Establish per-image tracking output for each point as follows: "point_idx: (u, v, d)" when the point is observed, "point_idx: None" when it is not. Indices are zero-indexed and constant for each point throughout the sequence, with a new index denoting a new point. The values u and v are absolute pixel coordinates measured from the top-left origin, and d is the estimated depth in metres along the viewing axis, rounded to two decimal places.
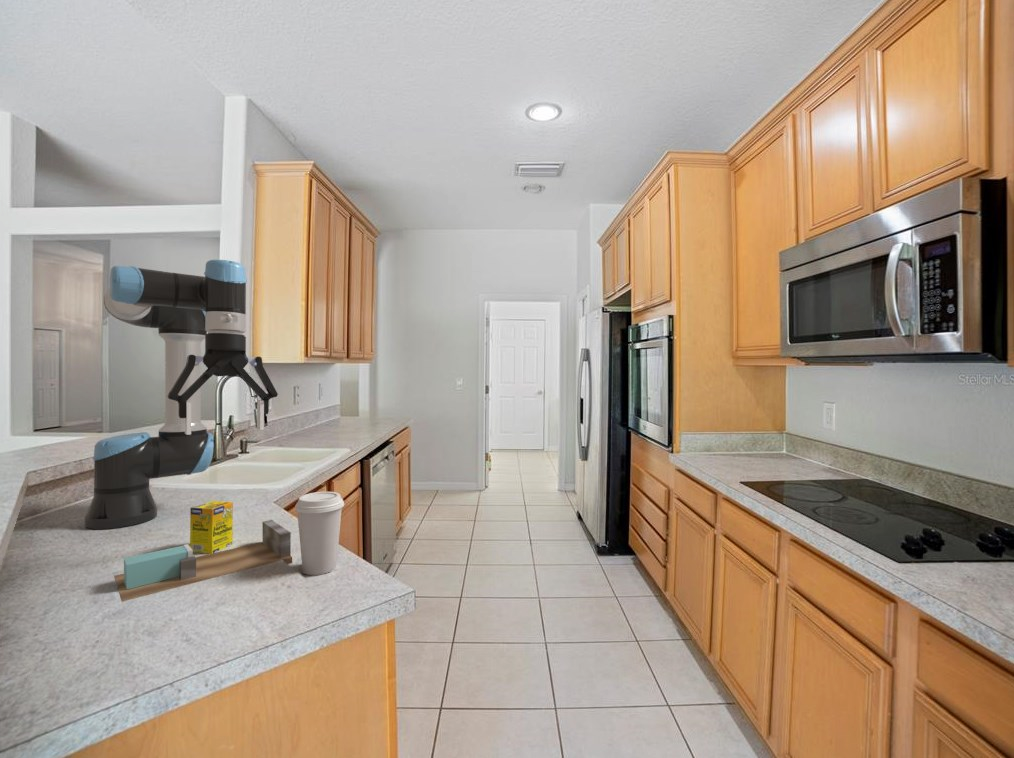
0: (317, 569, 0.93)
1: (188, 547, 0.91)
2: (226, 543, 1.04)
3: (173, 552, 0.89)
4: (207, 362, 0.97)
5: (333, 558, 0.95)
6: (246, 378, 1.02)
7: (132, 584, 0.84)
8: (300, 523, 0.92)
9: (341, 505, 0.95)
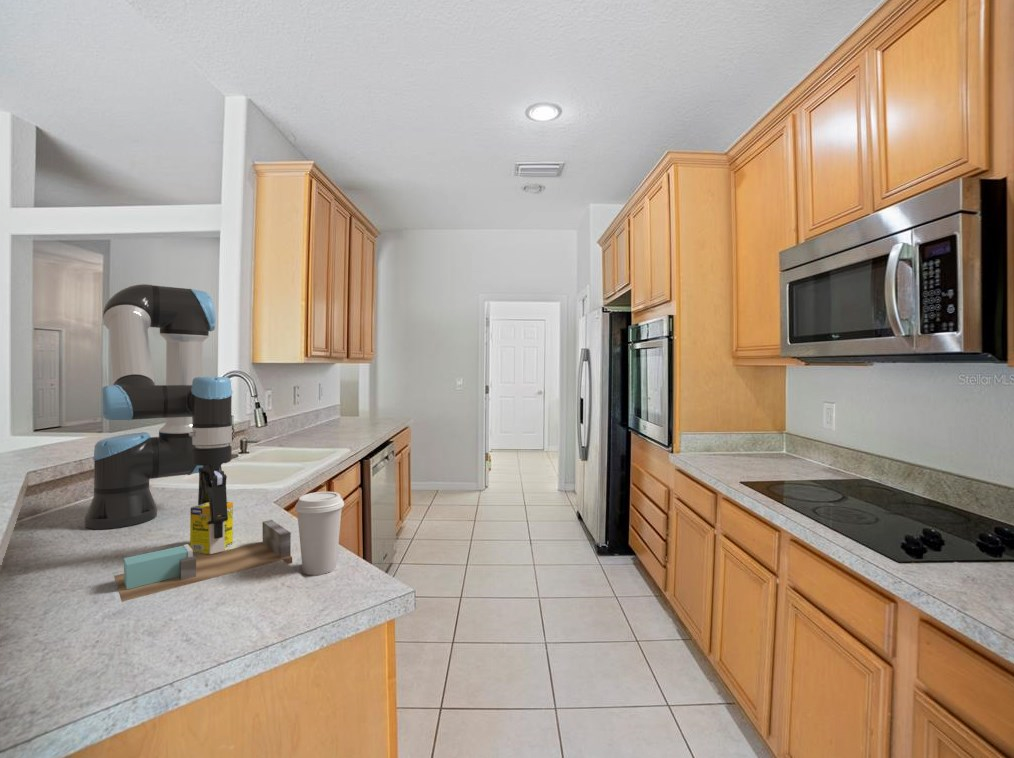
0: (317, 569, 0.93)
1: (188, 547, 0.91)
2: (226, 543, 1.04)
3: (173, 552, 0.89)
4: None
5: (333, 558, 0.95)
6: (208, 494, 1.01)
7: (132, 584, 0.84)
8: (300, 523, 0.92)
9: (341, 505, 0.95)
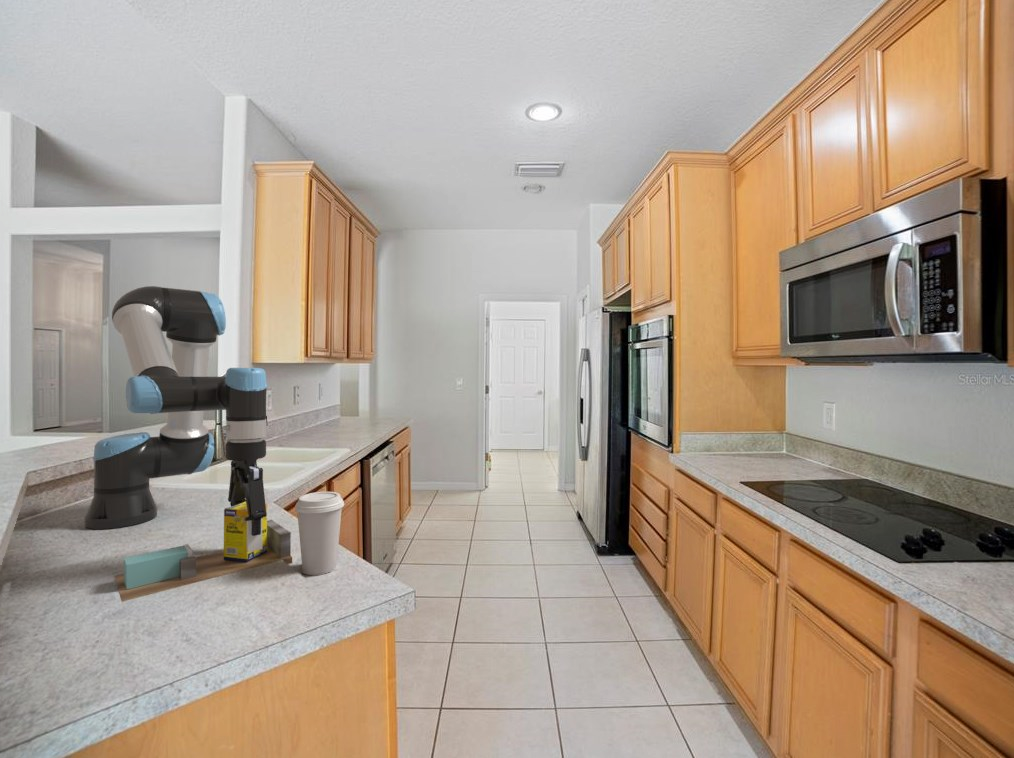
0: (317, 569, 0.93)
1: (188, 547, 0.91)
2: None
3: (173, 552, 0.89)
4: None
5: (333, 558, 0.95)
6: (244, 490, 0.95)
7: (132, 584, 0.84)
8: (300, 523, 0.92)
9: (341, 505, 0.95)
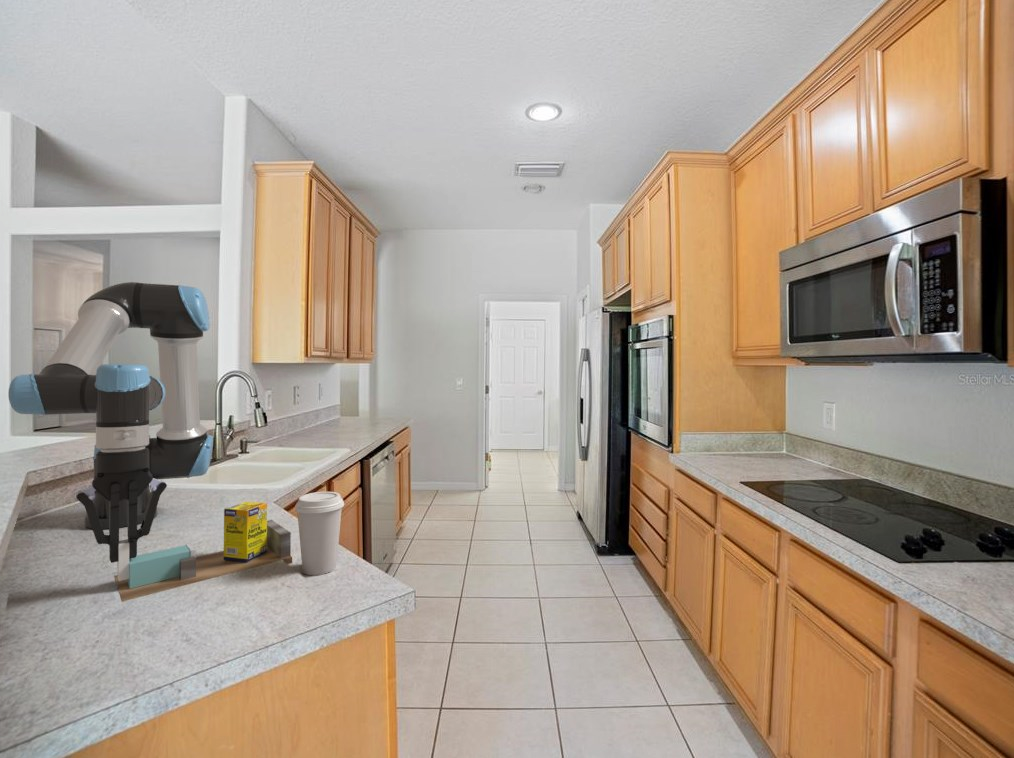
0: (317, 569, 0.93)
1: (191, 546, 0.92)
2: (260, 546, 0.99)
3: (176, 552, 0.89)
4: (101, 488, 0.82)
5: (333, 558, 0.95)
6: (131, 506, 0.84)
7: (135, 583, 0.84)
8: (300, 523, 0.92)
9: (341, 505, 0.95)
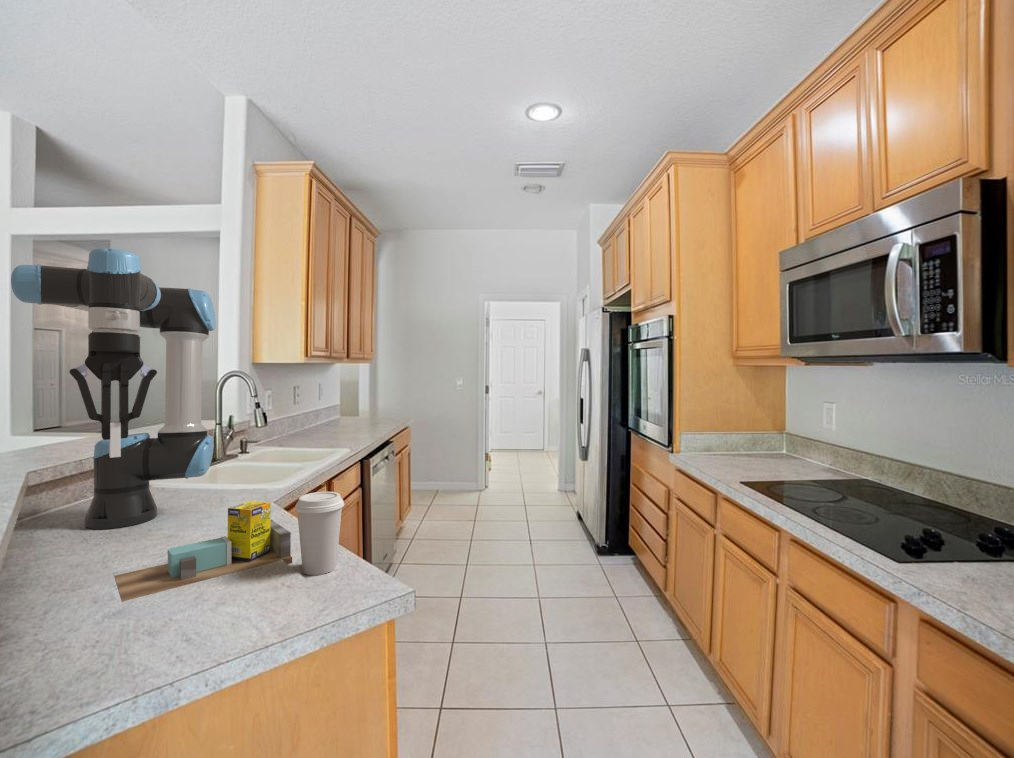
0: (317, 569, 0.93)
1: (226, 539, 0.96)
2: (264, 546, 0.99)
3: (213, 544, 0.94)
4: (93, 366, 0.85)
5: (333, 558, 0.95)
6: (122, 387, 0.88)
7: (177, 573, 0.88)
8: (300, 523, 0.92)
9: (341, 505, 0.95)
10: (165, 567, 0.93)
